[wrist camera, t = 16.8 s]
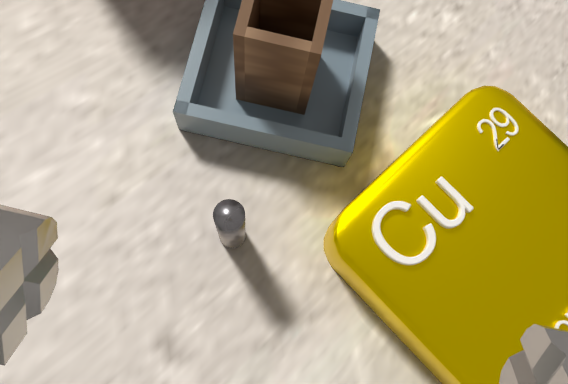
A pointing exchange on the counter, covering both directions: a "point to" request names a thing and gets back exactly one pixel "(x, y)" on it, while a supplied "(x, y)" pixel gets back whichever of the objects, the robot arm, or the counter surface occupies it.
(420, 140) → the element tile
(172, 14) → the counter surface
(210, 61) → the slate tray
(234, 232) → the metal post
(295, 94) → the walnut tube
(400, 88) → the counter surface
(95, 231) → the counter surface
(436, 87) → the counter surface
